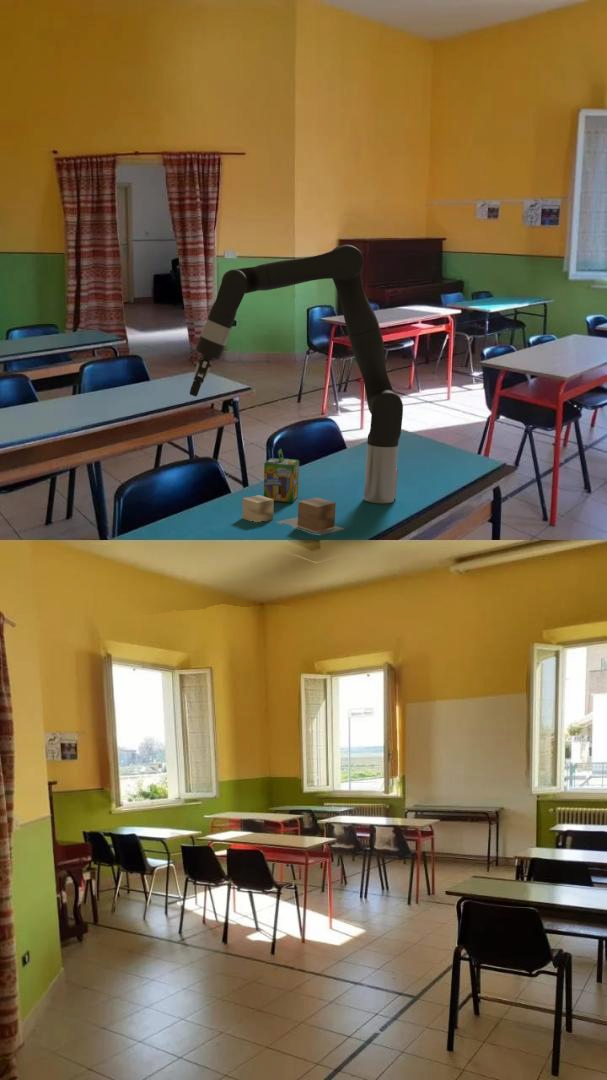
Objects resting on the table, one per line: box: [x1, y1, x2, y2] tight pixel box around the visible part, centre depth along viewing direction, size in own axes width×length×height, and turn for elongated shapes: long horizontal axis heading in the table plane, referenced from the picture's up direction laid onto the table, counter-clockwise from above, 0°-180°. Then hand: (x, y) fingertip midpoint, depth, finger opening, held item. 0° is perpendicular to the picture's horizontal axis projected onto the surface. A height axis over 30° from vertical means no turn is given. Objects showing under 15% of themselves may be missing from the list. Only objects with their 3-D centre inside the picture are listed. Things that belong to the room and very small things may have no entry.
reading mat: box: [276, 516, 345, 535], centre depth 224 cm, size 11×16×1 cm
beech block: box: [241, 494, 275, 523], centre depth 227 cm, size 6×6×6 cm
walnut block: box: [297, 497, 337, 533], centre depth 221 cm, size 7×7×7 cm
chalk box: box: [263, 448, 300, 503], centre depth 249 cm, size 9×9×15 cm
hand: (193, 393), depth 237 cm, fingers open, 8 cm apart
